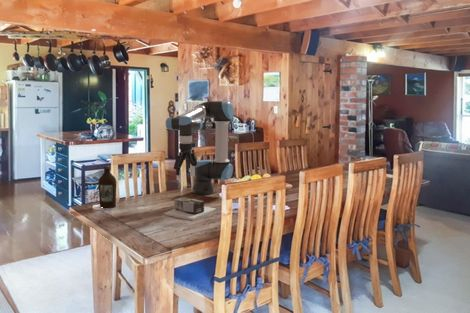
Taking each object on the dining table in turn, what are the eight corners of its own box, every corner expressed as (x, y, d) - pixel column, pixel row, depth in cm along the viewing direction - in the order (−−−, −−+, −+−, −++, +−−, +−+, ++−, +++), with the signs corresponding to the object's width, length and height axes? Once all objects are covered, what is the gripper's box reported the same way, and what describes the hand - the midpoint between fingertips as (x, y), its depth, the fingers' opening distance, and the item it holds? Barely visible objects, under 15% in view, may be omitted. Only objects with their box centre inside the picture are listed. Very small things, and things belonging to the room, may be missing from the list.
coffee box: (174, 209, 252) (193, 214, 242) (174, 199, 251) (193, 203, 241) (185, 206, 259) (204, 212, 249) (185, 196, 258) (204, 201, 248)
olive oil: (100, 204, 265) (99, 165, 261) (118, 204, 266) (117, 164, 262) (97, 209, 254) (96, 168, 251) (115, 208, 256) (114, 168, 252)
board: (188, 205, 266) (188, 203, 266) (216, 210, 257) (216, 208, 256) (164, 214, 245) (164, 212, 245) (193, 220, 236) (193, 218, 236)
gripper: (192, 140, 259) (192, 174, 263) (167, 144, 238) (167, 181, 241) (202, 141, 256) (202, 175, 259) (177, 145, 234) (178, 183, 238)
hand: (185, 178), depth 250 cm, fingers open, 13 cm apart
